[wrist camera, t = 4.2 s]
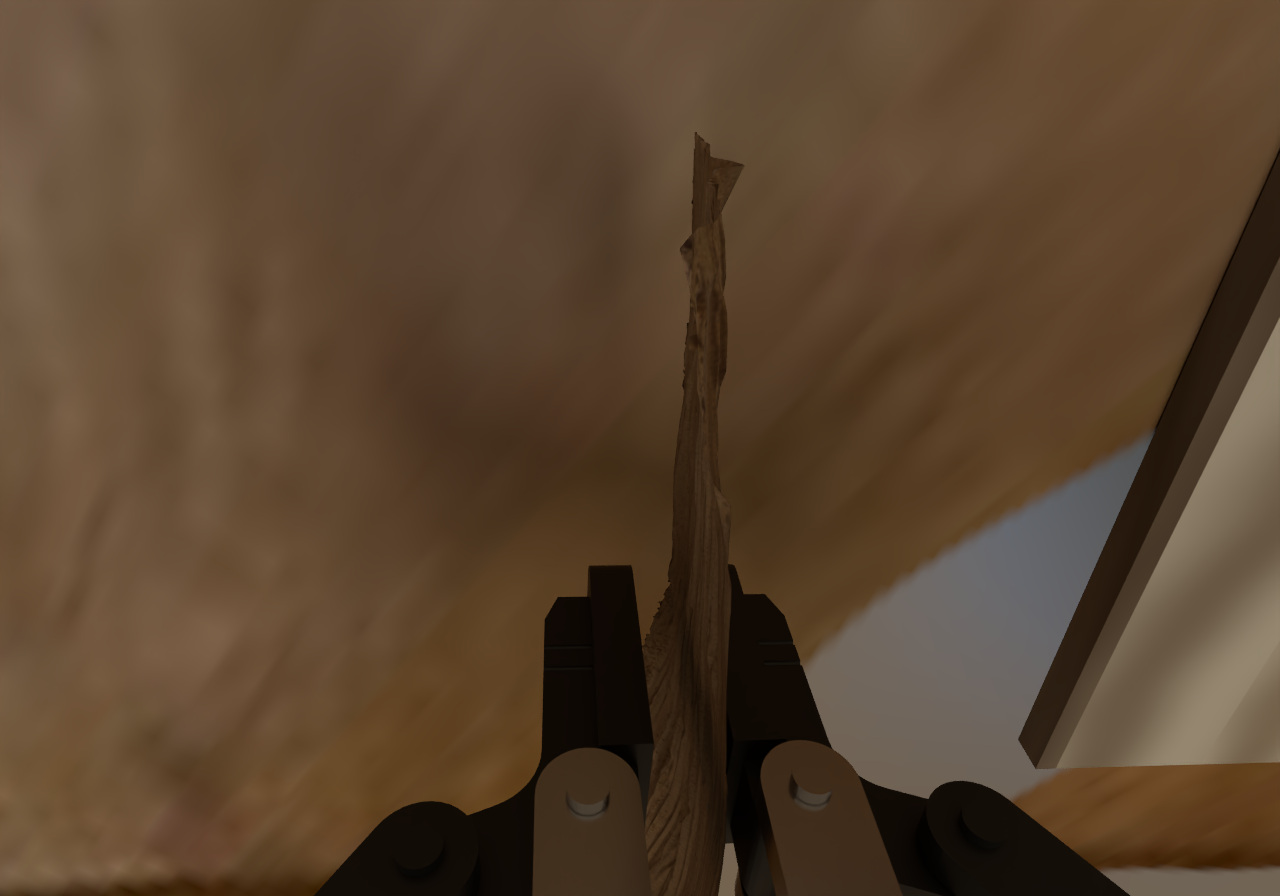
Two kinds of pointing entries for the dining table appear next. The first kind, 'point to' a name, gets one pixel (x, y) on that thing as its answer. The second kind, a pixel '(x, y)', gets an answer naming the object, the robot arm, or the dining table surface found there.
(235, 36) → the dining table surface
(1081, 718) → the floor panel
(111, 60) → the dining table surface
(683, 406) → the driftwood piece
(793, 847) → the robot arm
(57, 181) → the dining table surface
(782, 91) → the dining table surface
